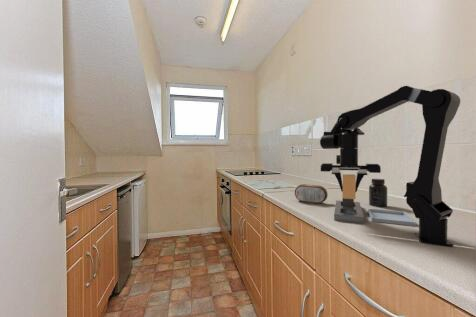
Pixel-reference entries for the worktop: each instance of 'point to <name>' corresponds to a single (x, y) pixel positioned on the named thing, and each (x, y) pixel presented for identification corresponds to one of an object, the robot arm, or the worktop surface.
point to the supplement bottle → (378, 193)
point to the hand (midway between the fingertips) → (348, 191)
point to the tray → (391, 217)
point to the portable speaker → (311, 193)
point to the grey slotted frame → (348, 213)
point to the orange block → (349, 186)
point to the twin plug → (348, 202)
